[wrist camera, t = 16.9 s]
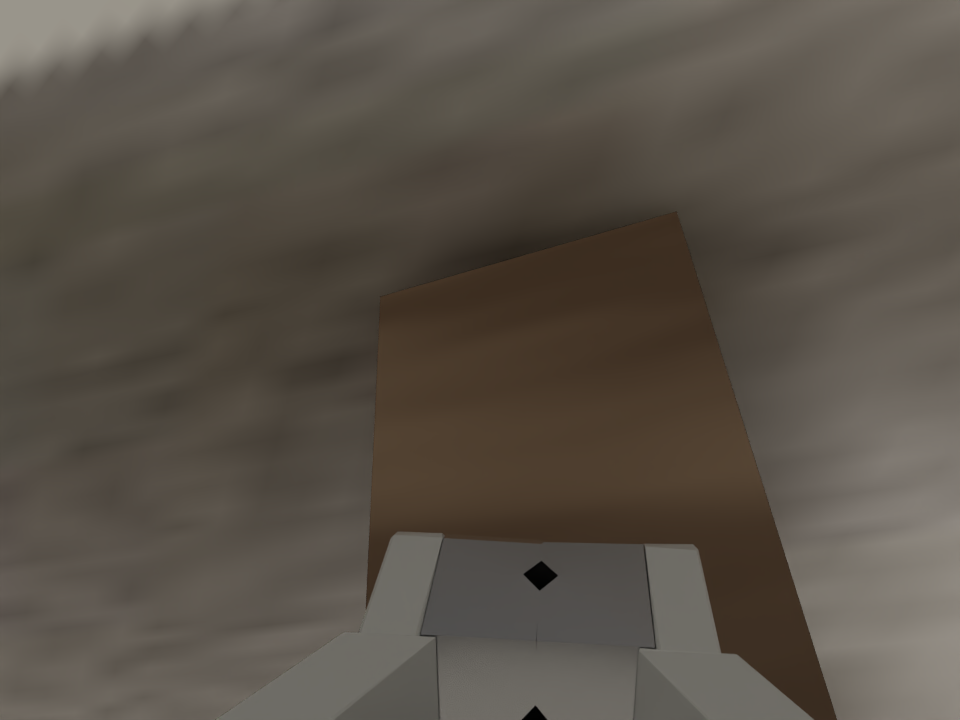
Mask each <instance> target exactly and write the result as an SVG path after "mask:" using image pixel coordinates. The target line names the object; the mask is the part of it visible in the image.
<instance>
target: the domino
mask: <svg viewBox="0 0 960 720" xmlns="http://www.w3.org/2000/svg"><path fill="white" fill-rule="evenodd" d="M397 532H424V533H442V534H444V535H445V536H446V534H457V535H472V536H487V537H502V538H517V539H532V540H544V541H543V542H572V543H612V544H693V545H694V546H695V547H696V548H697V549H698V551H699V555H700V560H701V564H702V569H703V573H704V578H705V582H706V587H707V591H708V596H709V600H710V605H711V609H712V614H713V618H714V623H715V627H716V632H717V636H718V641H719V645H720V650H721V653H724V654H737V655H738V656H740V657H741V658H742V659H743V660H744V661H746V662H747V663H748V664H749V665H750V666H751V667H753V668H754V669H755V670H756V671H757V672H758V673H760V674H761V675H762V676H763V677H764V678H766V679H767V680H768V681H769V682H770V683H771V684H773V685H774V686H775V687H776V688H777V689H779V690H780V691H781V692H782V693H783V694H784V695H786V696H787V697H788V698H789V699H790V700H791V701H793V702H794V703H795V704H796V705H797V706H799V707H800V708H801V709H802V710H803V711H804V712H806V713H807V714H808V715H809V716H810V717H812V718H813V719H814V720H837V718H836V715H835V712H834V709H833V706H832V703H831V699H830V696H829V693H828V690H827V687H826V684H825V680H824V677H823V674H822V671H821V668H820V665H819V661H818V658H817V655H816V652H815V649H814V646H813V642H812V639H811V636H810V633H809V630H808V627H807V623H806V620H805V617H804V614H803V611H802V608H801V604H800V601H799V598H798V595H797V592H796V588H795V585H794V582H793V579H792V576H791V573H790V569H789V566H788V563H787V560H786V557H785V554H784V550H783V547H782V544H781V541H780V538H779V535H778V531H777V528H776V525H775V522H774V519H773V516H772V512H771V509H770V506H769V503H768V500H767V497H766V493H765V490H764V487H763V484H762V481H761V478H760V474H759V471H758V468H757V465H756V462H755V459H754V455H753V452H752V449H751V446H750V443H749V440H748V436H747V433H746V430H745V427H744V424H743V420H742V417H741V414H740V411H739V408H738V405H737V401H736V398H735V395H734V392H733V389H732V386H731V382H730V379H729V376H728V373H727V370H726V367H725V363H724V360H723V357H722V354H721V351H720V348H719V344H718V341H717V338H716V335H715V332H714V329H713V325H712V322H711V319H710V316H709V313H708V310H707V306H706V303H705V300H704V297H703V294H702V291H701V287H700V284H699V281H698V278H697V275H696V271H695V268H694V265H693V262H692V259H691V256H690V252H689V249H688V246H687V243H686V240H685V237H684V233H683V230H682V227H681V224H680V221H679V218H678V214H677V211H676V212H673V213H670V214H666V215H663V216H659V217H656V218H652V219H649V220H645V221H642V222H638V223H635V224H631V225H628V226H624V227H621V228H617V229H614V230H610V231H607V232H603V233H600V234H596V235H593V236H589V237H586V238H582V239H579V240H575V241H572V242H569V243H565V244H562V245H558V246H555V247H551V248H548V249H544V250H541V251H537V252H534V253H530V254H527V255H523V256H520V257H516V258H513V259H509V260H506V261H502V262H499V263H495V264H492V265H488V266H485V267H481V268H478V269H474V270H471V271H468V272H464V273H461V274H457V275H454V276H450V277H447V278H443V279H440V280H436V281H433V282H429V283H426V284H422V285H419V286H415V287H412V288H408V289H405V290H401V291H398V292H394V293H391V294H387V295H384V296H380V317H379V338H378V360H377V381H376V403H375V424H374V446H373V467H372V489H371V510H370V532H369V553H368V575H367V596H366V609H367V606H368V603H369V600H370V597H371V595H372V592H373V589H374V586H375V583H376V580H377V577H378V574H379V571H380V568H381V565H382V562H383V559H384V556H385V554H386V551H387V548H388V545H389V542H390V539H391V537H392V536H393V535H395V534H396V533H397Z"/></svg>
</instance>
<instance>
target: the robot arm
mask: <svg viewBox="0 0 960 720" xmlns="http://www.w3.org/2000/svg"><path fill="white" fill-rule="evenodd" d="M543 541H544V540H532V539H517V538H502V537H487V536H472V535H457V534H446V536H445V535H444V534H442V533H424V532H397V533H396V534H395V535H393V536H392V537H391V539H390V542H389V545H388V548H387V551H386V554H385V556H384V559H383V562H382V565H381V568H380V571H379V574H378V577H377V580H376V583H375V586H374V589H373V592H372V595H371V597H370V600H369V603H368V606H367V609H366V612H365V615H364V618H363V621H362V624H361V627H360V630H359V633H357V632H343V633H342V634H340V635H339V636H337V637H336V638H334V639H333V640H331V641H330V642H328V643H327V644H325V645H324V646H323V647H321V648H320V649H318V650H317V651H315V652H314V653H312V654H311V655H309V656H308V657H306V658H305V659H304V660H302V661H301V662H299V663H298V664H296V665H295V666H293V667H292V668H290V669H289V670H287V671H286V672H285V673H283V674H282V675H280V676H279V677H277V678H276V679H274V680H273V681H271V682H270V683H268V684H267V685H265V686H264V687H263V688H261V689H260V690H258V691H257V692H255V693H254V694H252V695H251V696H249V697H248V698H246V699H245V700H244V701H242V702H241V703H239V704H238V705H236V706H235V707H233V708H232V709H230V710H229V711H227V712H226V713H225V714H223V715H222V716H220V717H219V718H217V719H216V720H814V719H813V718H812V717H810V716H809V715H808V714H807V713H806V712H804V711H803V710H802V709H801V708H800V707H799V706H797V705H796V704H795V703H794V702H793V701H791V700H790V699H789V698H788V697H787V696H786V695H784V694H783V693H782V692H781V691H780V690H779V689H777V688H776V687H775V686H774V685H773V684H771V683H770V682H769V681H768V680H767V679H766V678H764V677H763V676H762V675H761V674H760V673H758V672H757V671H756V670H755V669H754V668H753V667H751V666H750V665H749V664H748V663H747V662H746V661H744V660H743V659H742V658H741V657H740V656H738V655H737V654H724V653H721V650H720V645H719V641H718V636H717V632H716V627H715V623H714V618H713V614H712V609H711V605H710V600H709V596H708V591H707V587H706V582H705V578H704V573H703V569H702V564H701V560H700V555H699V551H698V549H697V548H696V547H695V546H694V545H693V544H612V543H572V542H543Z"/></svg>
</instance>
